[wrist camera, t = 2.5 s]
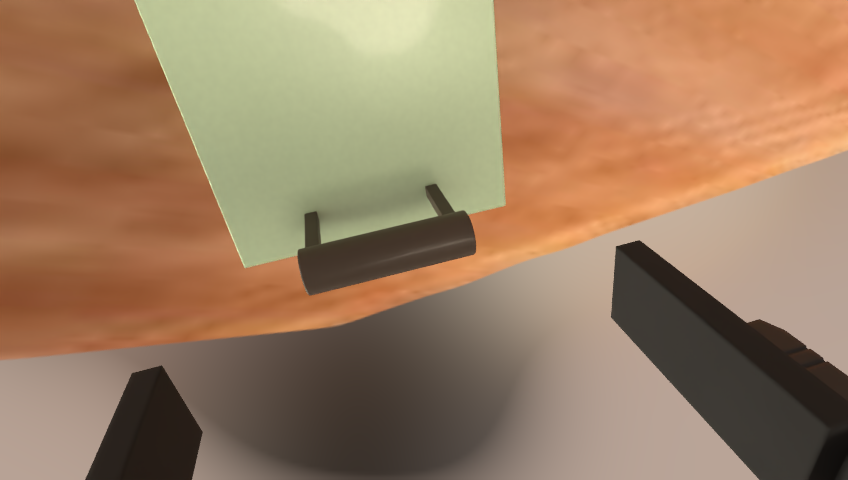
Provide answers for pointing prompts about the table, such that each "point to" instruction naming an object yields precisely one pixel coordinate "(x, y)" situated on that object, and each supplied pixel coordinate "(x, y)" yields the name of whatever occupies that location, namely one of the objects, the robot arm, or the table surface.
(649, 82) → the table surface
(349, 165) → the lid
